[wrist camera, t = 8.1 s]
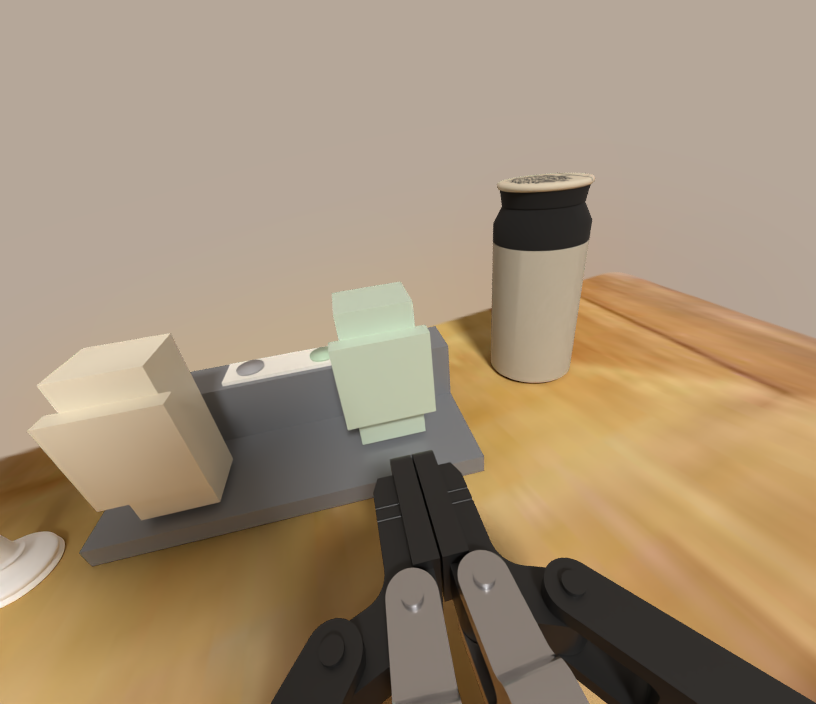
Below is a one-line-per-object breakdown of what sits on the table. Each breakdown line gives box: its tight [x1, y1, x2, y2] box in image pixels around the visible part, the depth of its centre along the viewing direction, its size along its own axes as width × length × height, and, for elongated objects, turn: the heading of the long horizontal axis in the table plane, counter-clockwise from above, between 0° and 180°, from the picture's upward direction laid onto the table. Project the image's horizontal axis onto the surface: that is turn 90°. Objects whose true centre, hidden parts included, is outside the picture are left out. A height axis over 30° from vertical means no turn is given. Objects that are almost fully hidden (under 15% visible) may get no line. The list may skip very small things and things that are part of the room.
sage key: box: [328, 282, 436, 445], centre depth 26 cm, size 6×5×11 cm
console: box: [79, 326, 484, 566], centre depth 28 cm, size 27×12×7 cm, turn 102°
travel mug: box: [491, 173, 595, 383], centre depth 33 cm, size 8×8×18 cm
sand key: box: [27, 333, 233, 520], centre depth 22 cm, size 6×5×11 cm
